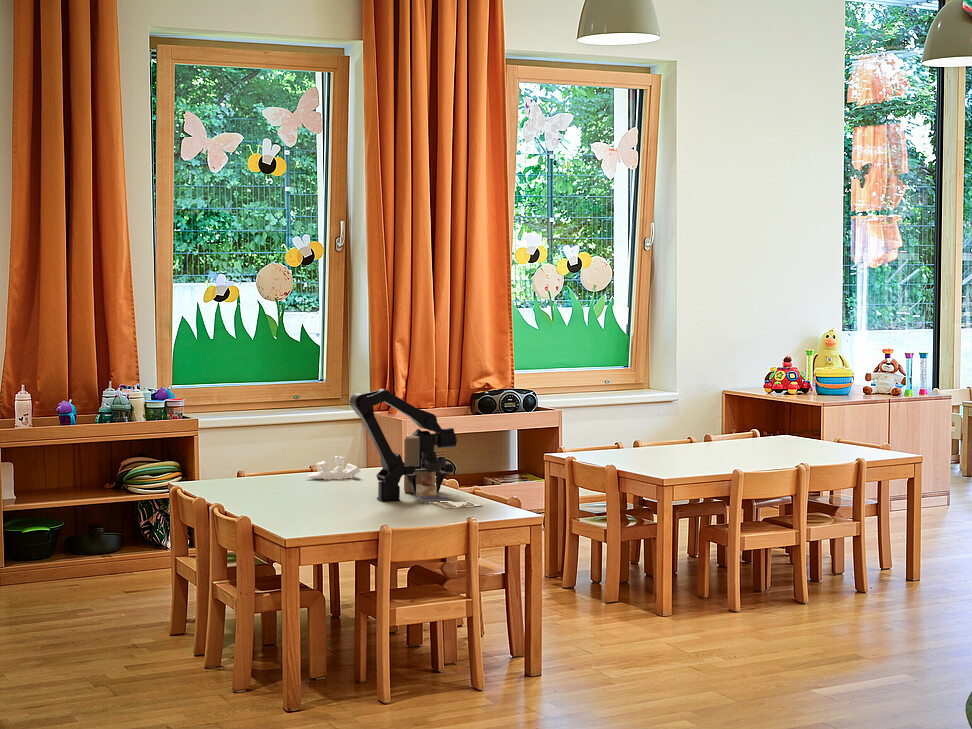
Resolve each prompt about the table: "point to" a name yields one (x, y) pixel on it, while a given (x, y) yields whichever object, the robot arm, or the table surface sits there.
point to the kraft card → (448, 505)
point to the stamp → (426, 487)
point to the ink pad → (434, 498)
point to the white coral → (335, 470)
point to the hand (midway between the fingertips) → (426, 493)
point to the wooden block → (414, 462)
